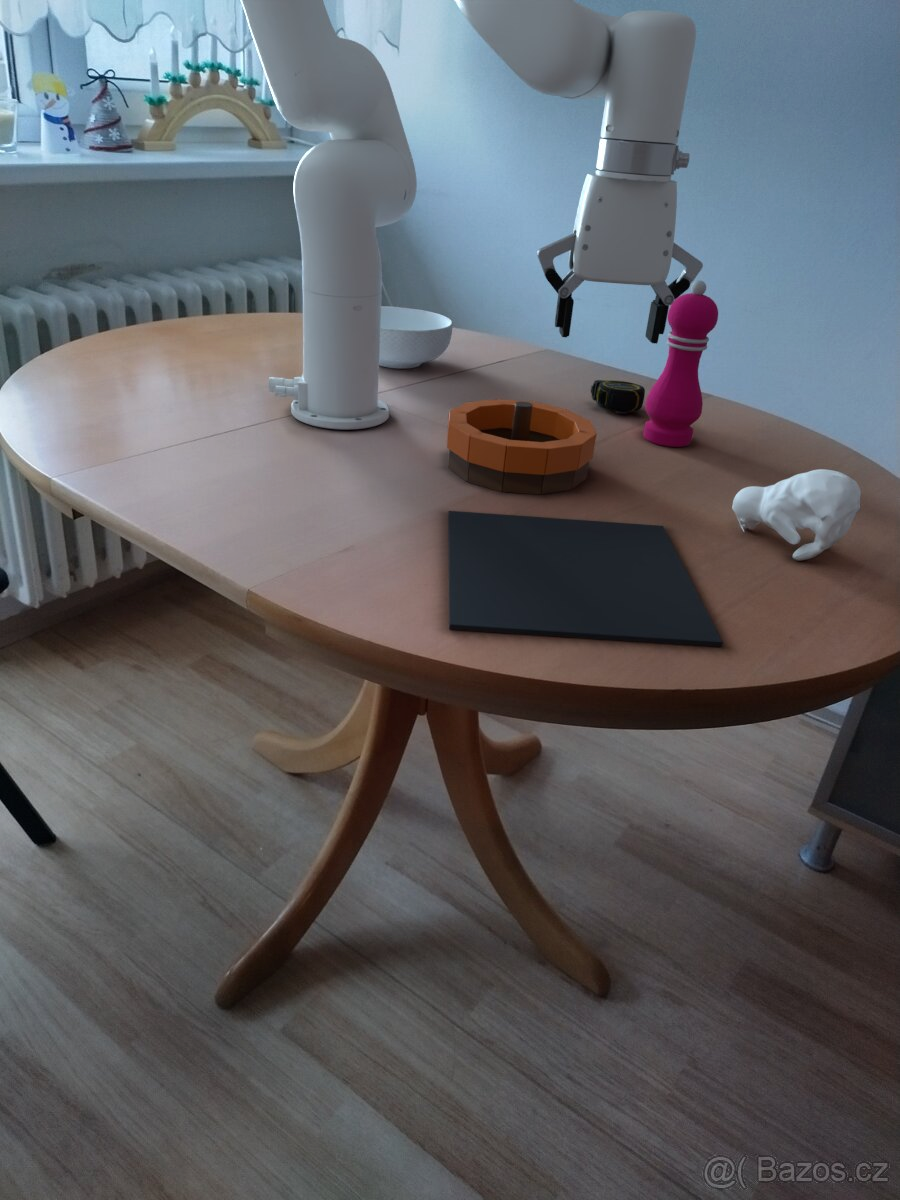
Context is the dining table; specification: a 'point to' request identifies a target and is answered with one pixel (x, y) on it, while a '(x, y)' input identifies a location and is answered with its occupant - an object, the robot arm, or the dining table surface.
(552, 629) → the mat
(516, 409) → the post
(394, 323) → the cereal bowl
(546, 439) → the walnut ring
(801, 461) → the dining table surface
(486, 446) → the orange ring
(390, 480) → the dining table surface
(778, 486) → the white animal figurine
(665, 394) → the pepper mill
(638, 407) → the tape measure
